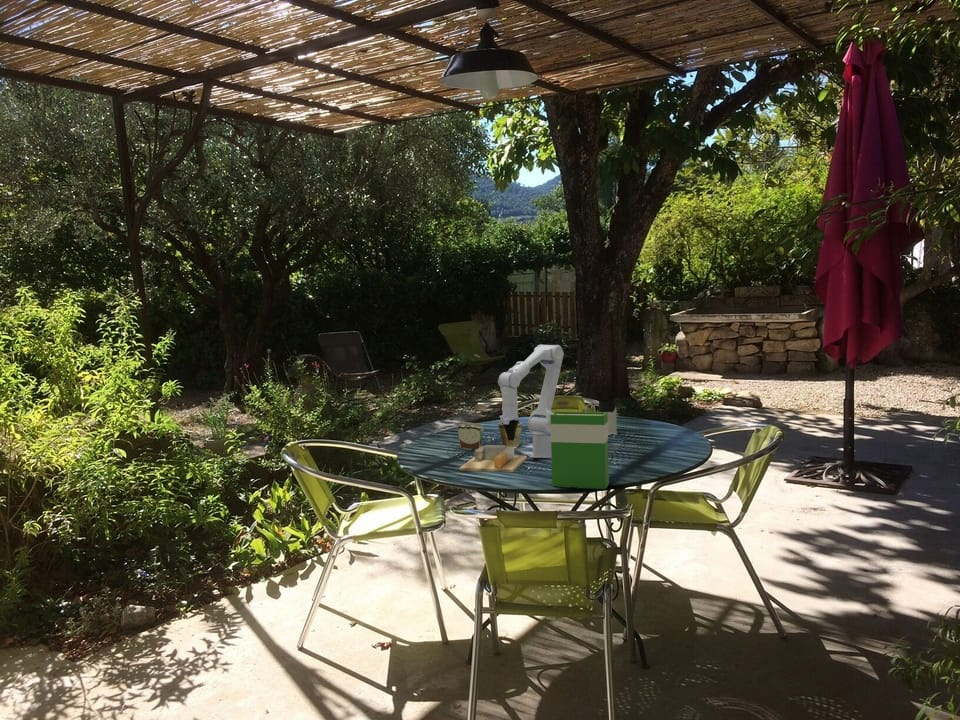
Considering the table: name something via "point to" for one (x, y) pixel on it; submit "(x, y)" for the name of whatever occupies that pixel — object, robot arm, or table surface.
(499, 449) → the steel block
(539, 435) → the robot arm
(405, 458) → the table surface
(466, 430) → the food container
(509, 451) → the block
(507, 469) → the base
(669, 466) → the table surface
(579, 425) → the green box
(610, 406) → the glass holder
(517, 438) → the ceramic cup
